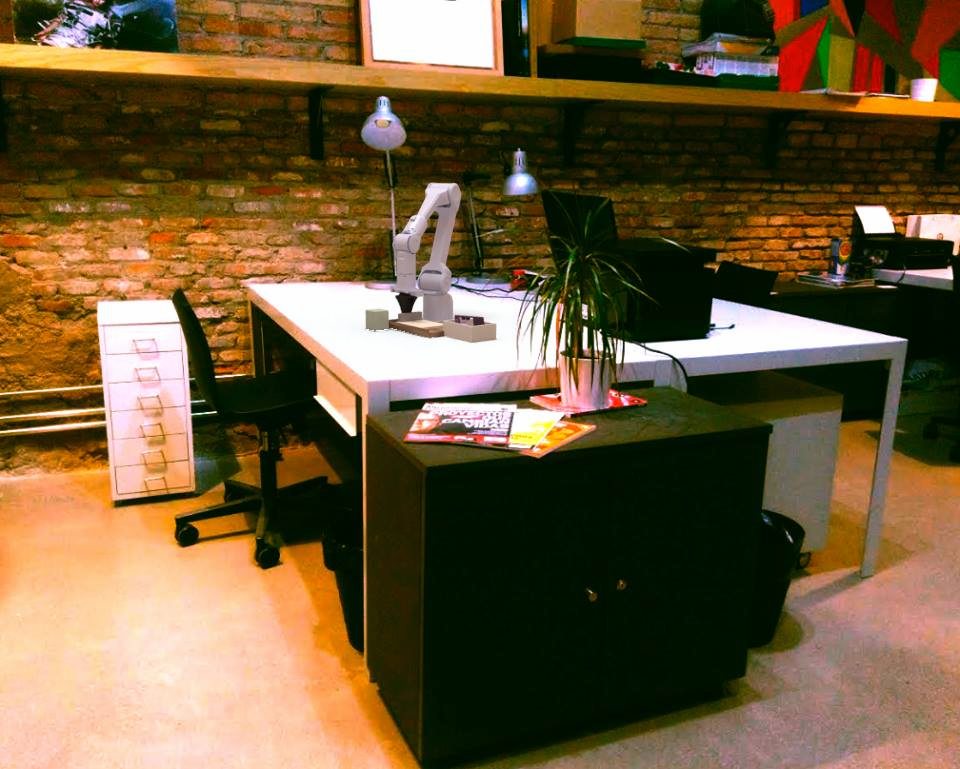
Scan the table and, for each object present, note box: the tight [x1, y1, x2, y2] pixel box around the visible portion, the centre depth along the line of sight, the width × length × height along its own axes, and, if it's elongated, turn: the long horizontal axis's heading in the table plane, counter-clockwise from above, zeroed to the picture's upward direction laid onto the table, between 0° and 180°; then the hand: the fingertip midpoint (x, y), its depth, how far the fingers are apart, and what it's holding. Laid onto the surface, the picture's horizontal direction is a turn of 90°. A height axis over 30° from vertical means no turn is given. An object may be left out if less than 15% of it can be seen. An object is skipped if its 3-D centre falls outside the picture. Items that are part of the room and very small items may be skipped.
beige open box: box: [442, 318, 497, 343], centre depth 248 cm, size 9×13×4 cm
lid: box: [397, 311, 443, 329], centre depth 258 cm, size 10×13×3 cm
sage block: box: [365, 308, 390, 332], centre depth 259 cm, size 5×5×6 cm
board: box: [389, 318, 445, 339], centre depth 260 cm, size 11×27×2 cm, turn 40°
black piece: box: [454, 314, 485, 326], centre depth 248 cm, size 7×5×9 cm
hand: (406, 317), depth 264 cm, fingers closed
